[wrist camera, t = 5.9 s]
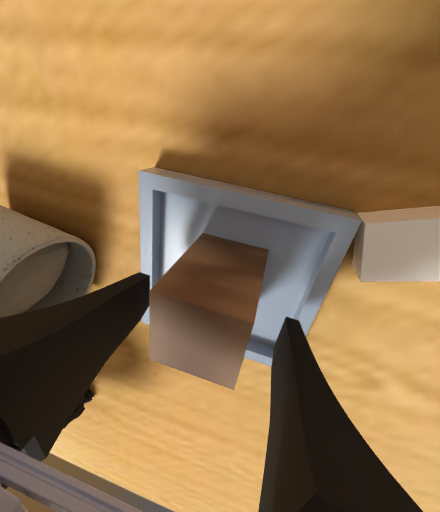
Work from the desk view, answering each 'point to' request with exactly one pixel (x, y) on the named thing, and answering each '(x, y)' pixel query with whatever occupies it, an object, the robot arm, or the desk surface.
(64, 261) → the ceramic mug
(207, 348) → the walnut block
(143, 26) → the desk surface
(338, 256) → the tray
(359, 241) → the bar
